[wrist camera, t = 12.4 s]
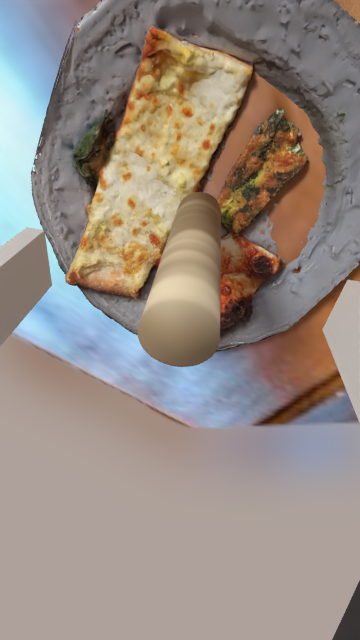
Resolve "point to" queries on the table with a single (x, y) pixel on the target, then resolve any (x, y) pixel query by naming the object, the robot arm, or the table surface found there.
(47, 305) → the table surface
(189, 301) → the pestle
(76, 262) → the food plate
